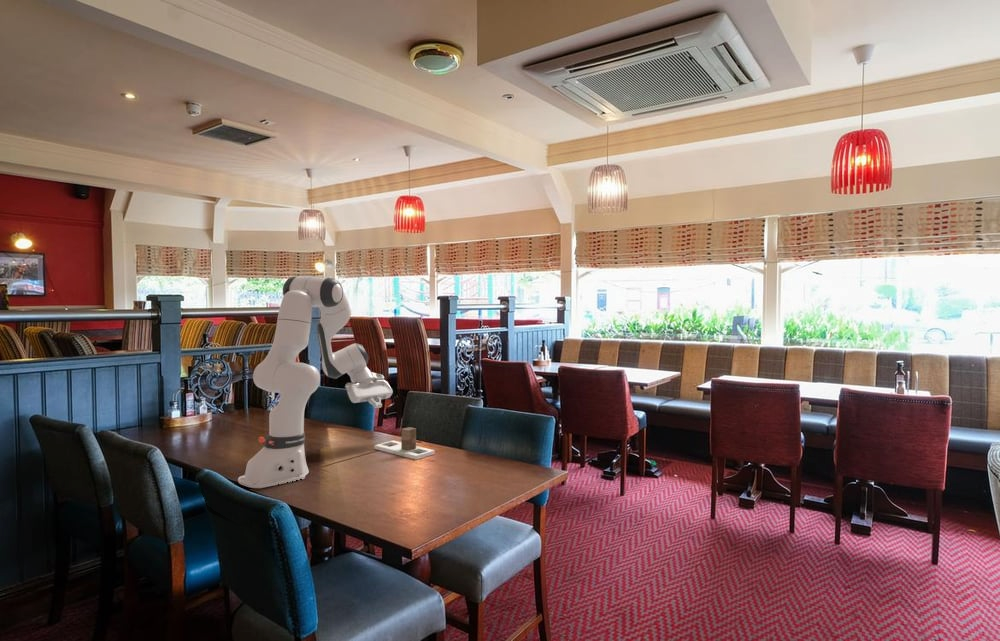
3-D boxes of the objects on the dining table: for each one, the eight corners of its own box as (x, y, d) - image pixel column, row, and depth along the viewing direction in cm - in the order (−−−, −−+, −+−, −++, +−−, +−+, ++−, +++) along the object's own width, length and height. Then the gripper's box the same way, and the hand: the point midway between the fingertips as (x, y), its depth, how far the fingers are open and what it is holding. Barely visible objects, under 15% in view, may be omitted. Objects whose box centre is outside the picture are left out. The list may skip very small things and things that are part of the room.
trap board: (416, 459, 211) (416, 455, 211) (374, 448, 225) (374, 445, 225) (434, 454, 219) (434, 450, 219) (393, 443, 233) (393, 440, 233)
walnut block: (408, 450, 218) (408, 430, 217) (401, 449, 220) (401, 428, 220) (415, 448, 221) (416, 428, 220) (408, 446, 223) (409, 427, 223)
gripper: (347, 378, 226) (361, 405, 221) (386, 374, 243) (400, 399, 237) (340, 388, 229) (354, 415, 223) (379, 383, 245) (393, 408, 240)
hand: (378, 407), depth 230 cm, fingers closed
